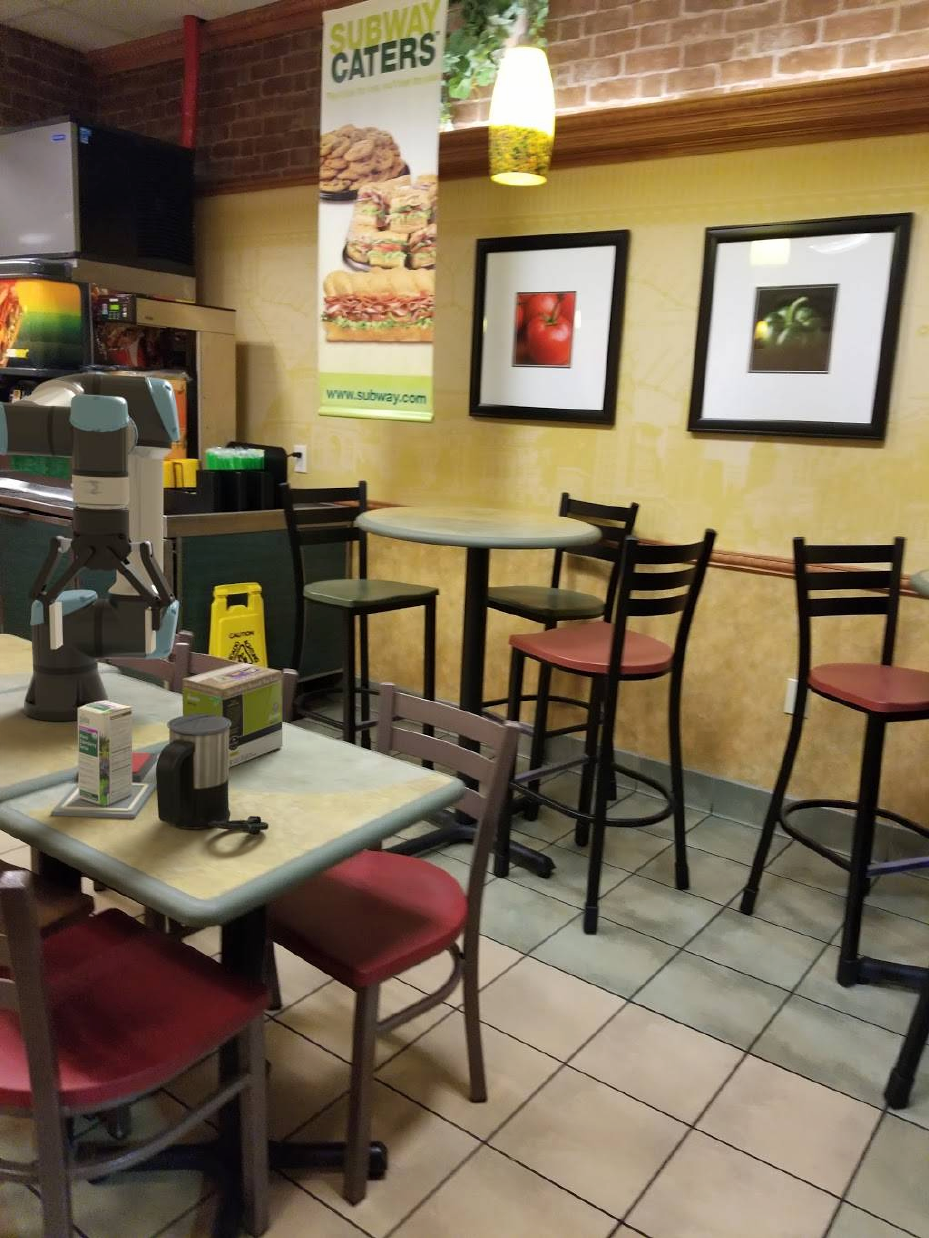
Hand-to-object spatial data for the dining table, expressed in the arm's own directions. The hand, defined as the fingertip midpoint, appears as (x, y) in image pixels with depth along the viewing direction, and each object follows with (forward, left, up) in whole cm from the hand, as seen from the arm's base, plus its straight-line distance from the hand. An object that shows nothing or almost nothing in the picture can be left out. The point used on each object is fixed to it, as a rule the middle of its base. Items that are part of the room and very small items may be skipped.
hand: (103, 649), depth 137 cm
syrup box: (0, 0, -23) cm, 23 cm away
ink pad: (-12, -2, -24) cm, 27 cm away
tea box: (-22, +15, -24) cm, 36 cm away
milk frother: (+7, +18, -24) cm, 31 cm away
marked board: (0, 0, -24) cm, 24 cm away
